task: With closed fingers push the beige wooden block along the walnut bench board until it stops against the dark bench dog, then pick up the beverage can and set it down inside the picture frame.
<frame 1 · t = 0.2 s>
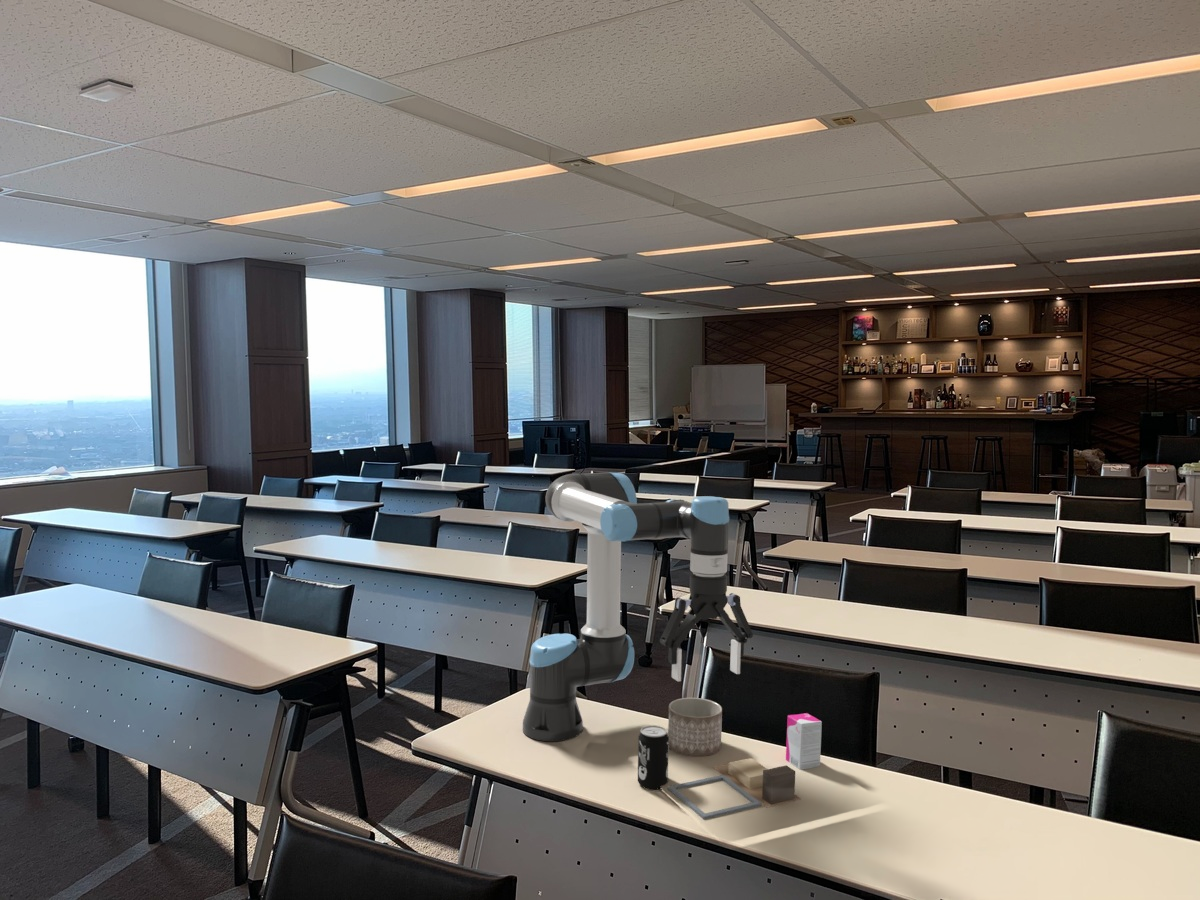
hand: (706, 675, 171), 28 cm above the table, fingers open, 13 cm apart
beige wooden block: (750, 778, 184), point 1 cm above the table, touching bench
picture frame: (713, 801, 175), on the table
beverage can: (652, 785, 183), on the table
planter: (694, 750, 201), on the table
bench: (755, 786, 182), on the table
supplement box: (802, 767, 193), on the table
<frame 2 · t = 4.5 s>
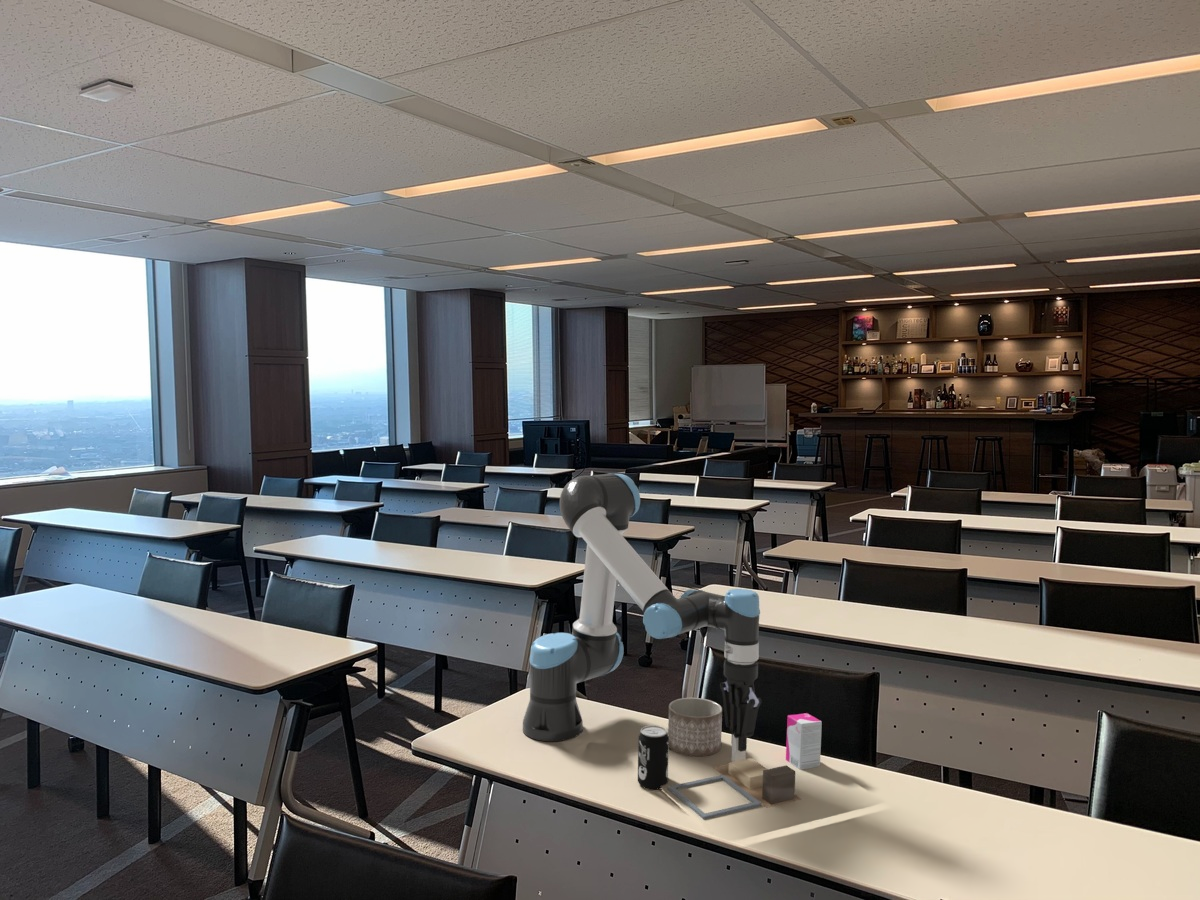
hand: (738, 762, 188), 3 cm above the table, fingers closed
beige wooden block: (750, 778, 184), point 1 cm above the table, touching bench, gripper
everything else where it was.
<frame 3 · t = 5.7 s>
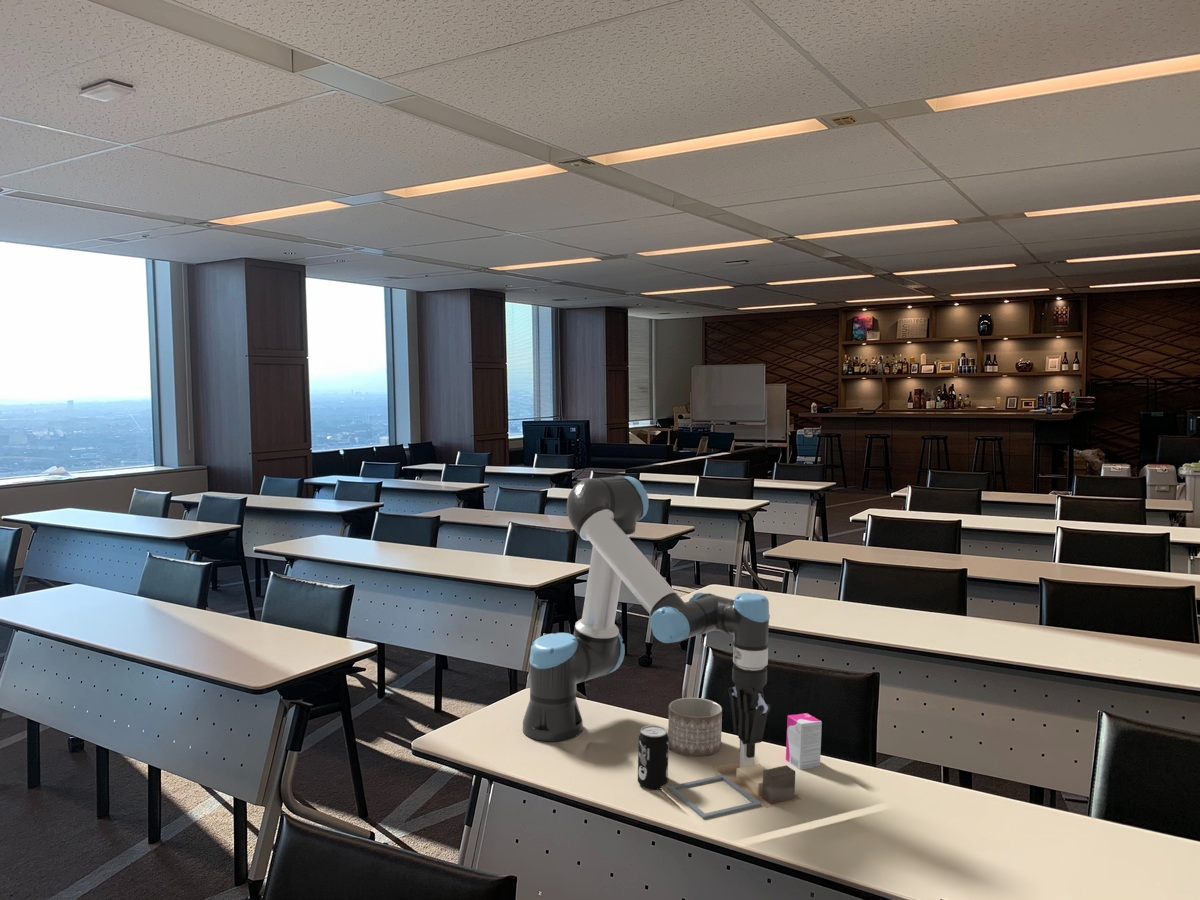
hand: (746, 769, 185), 2 cm above the table, fingers closed
beige wooden block: (758, 784, 181), point 1 cm above the table, touching bench, gripper
everything else where it was.
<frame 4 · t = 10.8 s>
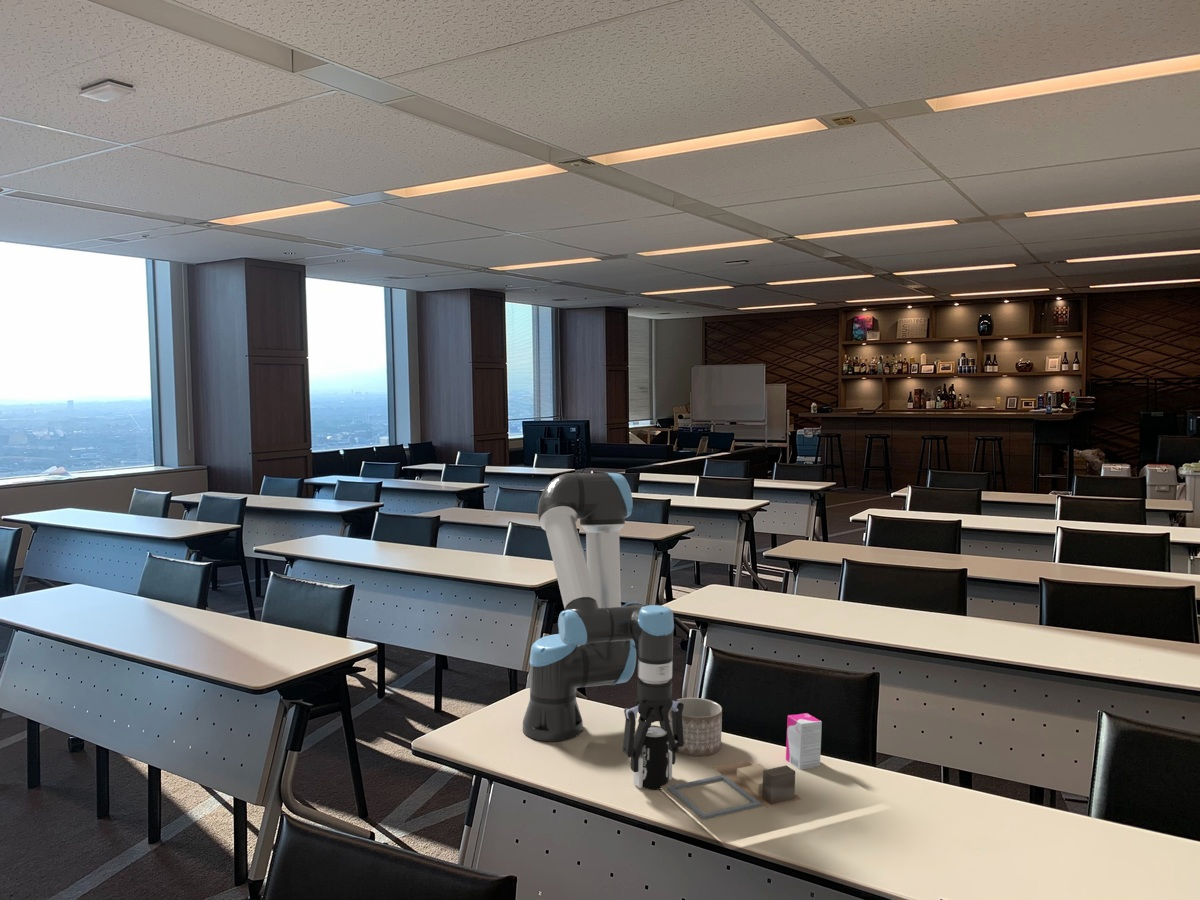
hand: (652, 781, 183), 0 cm above the table, fingers closed on beverage can, 7 cm apart
beige wooden block: (758, 784, 181), point 1 cm above the table, touching bench
beverage can: (652, 785, 183), on the table, touching gripper
everything else where it was.
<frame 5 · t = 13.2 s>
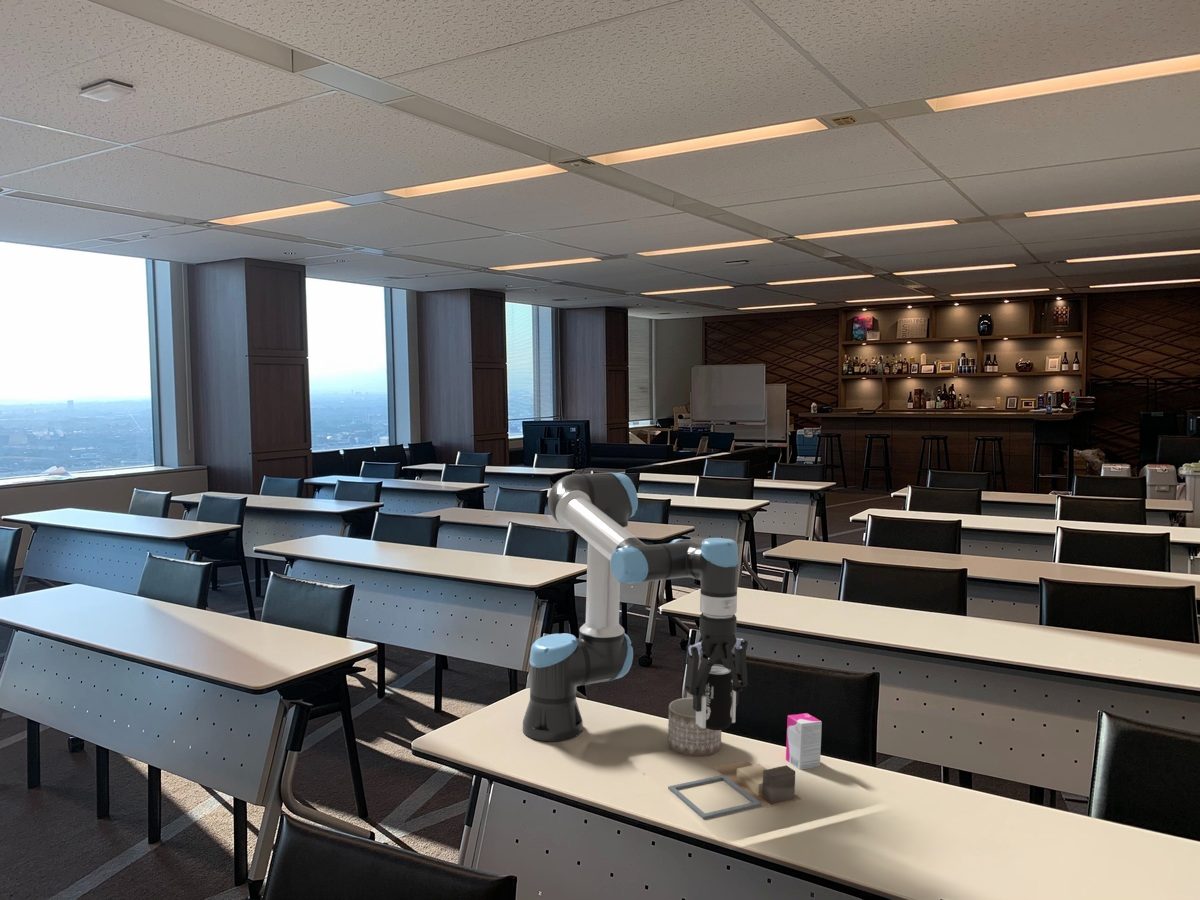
hand: (715, 722, 174), 17 cm above the table, fingers closed on beverage can, 7 cm apart
beverage can: (715, 726, 174), point 16 cm above the table, touching gripper
everything else where it was.
when the fingers open (3 cm above the table, at t = 16.0 s): beverage can drops 2 cm, resting on picture frame.
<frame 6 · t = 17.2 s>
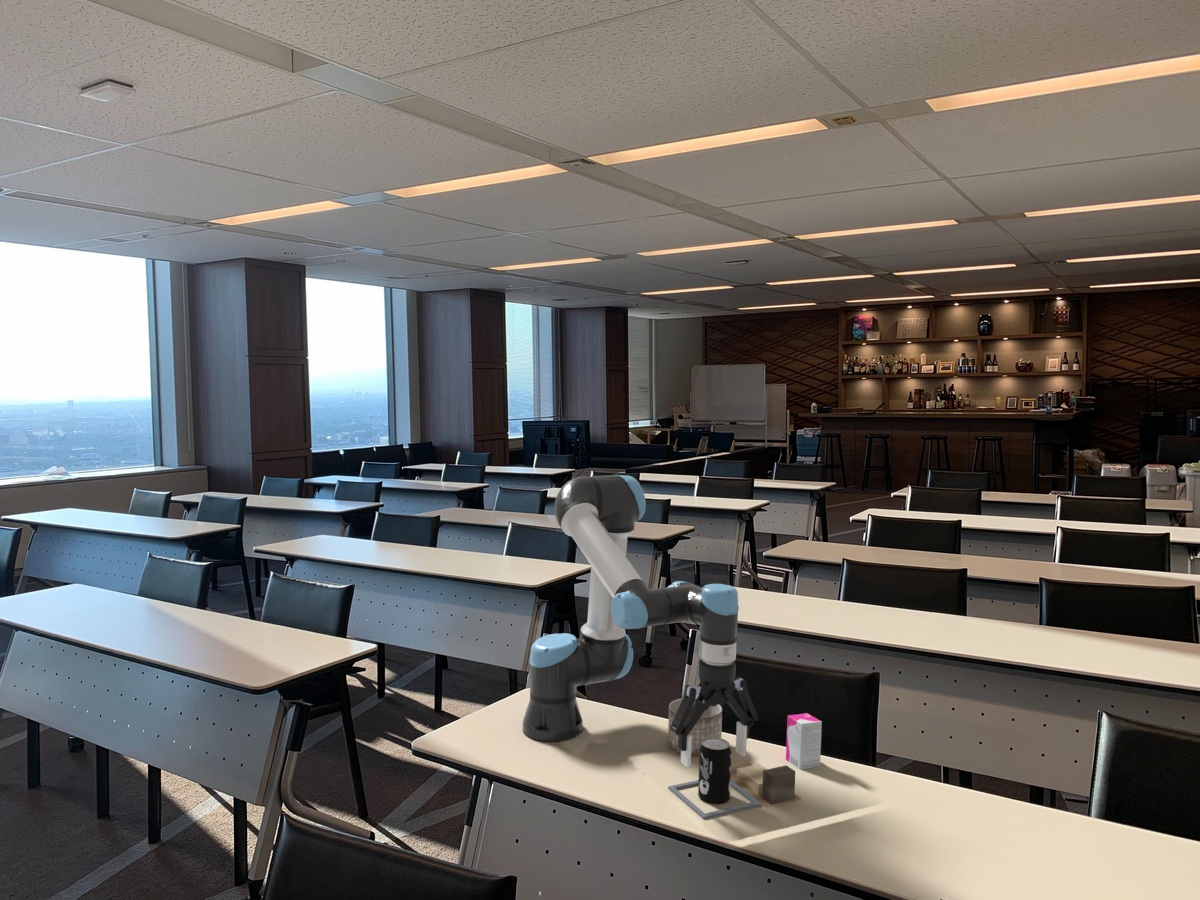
hand: (713, 759, 175), 9 cm above the table, fingers open, 13 cm apart
beverage can: (713, 799, 175), resting on picture frame
everything else where it was.
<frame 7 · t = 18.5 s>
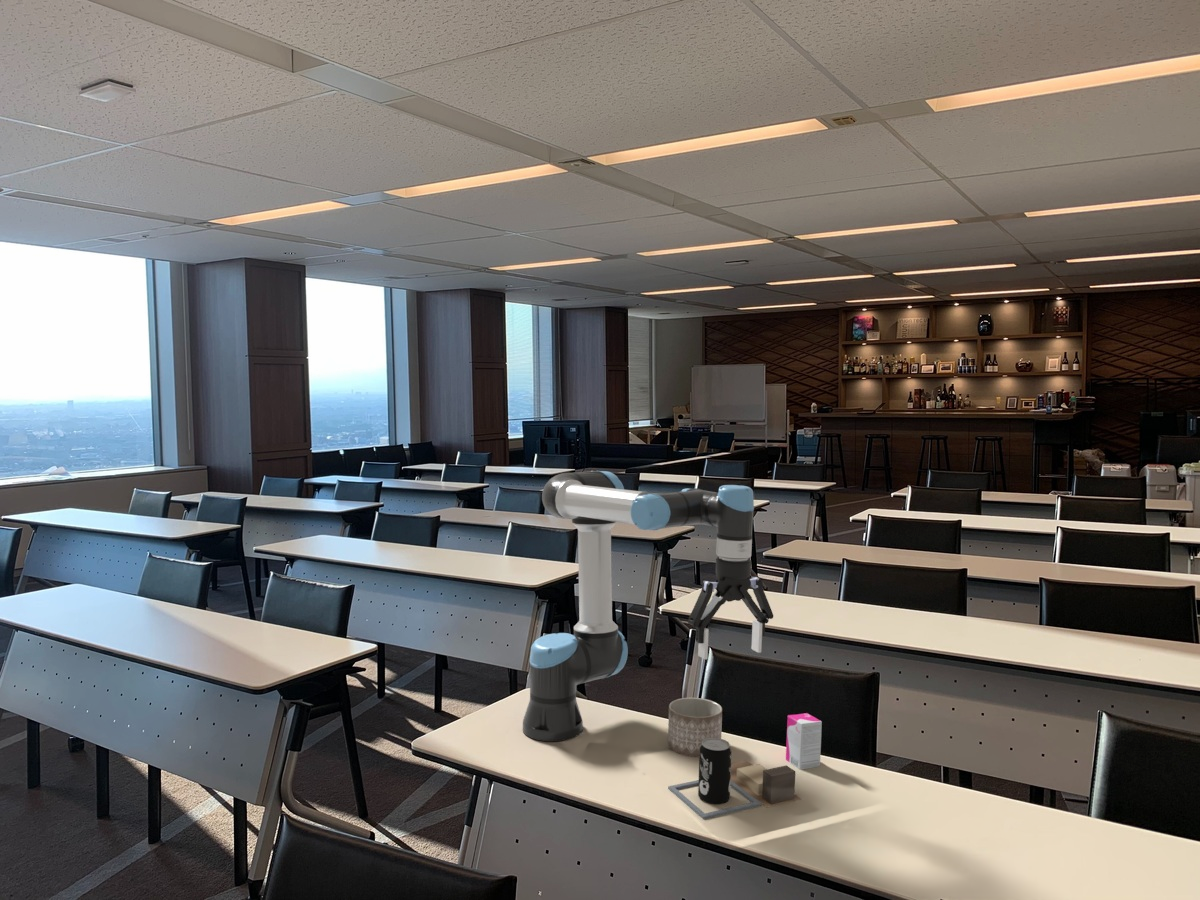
hand: (729, 654, 182), 29 cm above the table, fingers open, 13 cm apart
nothing on the table moved.
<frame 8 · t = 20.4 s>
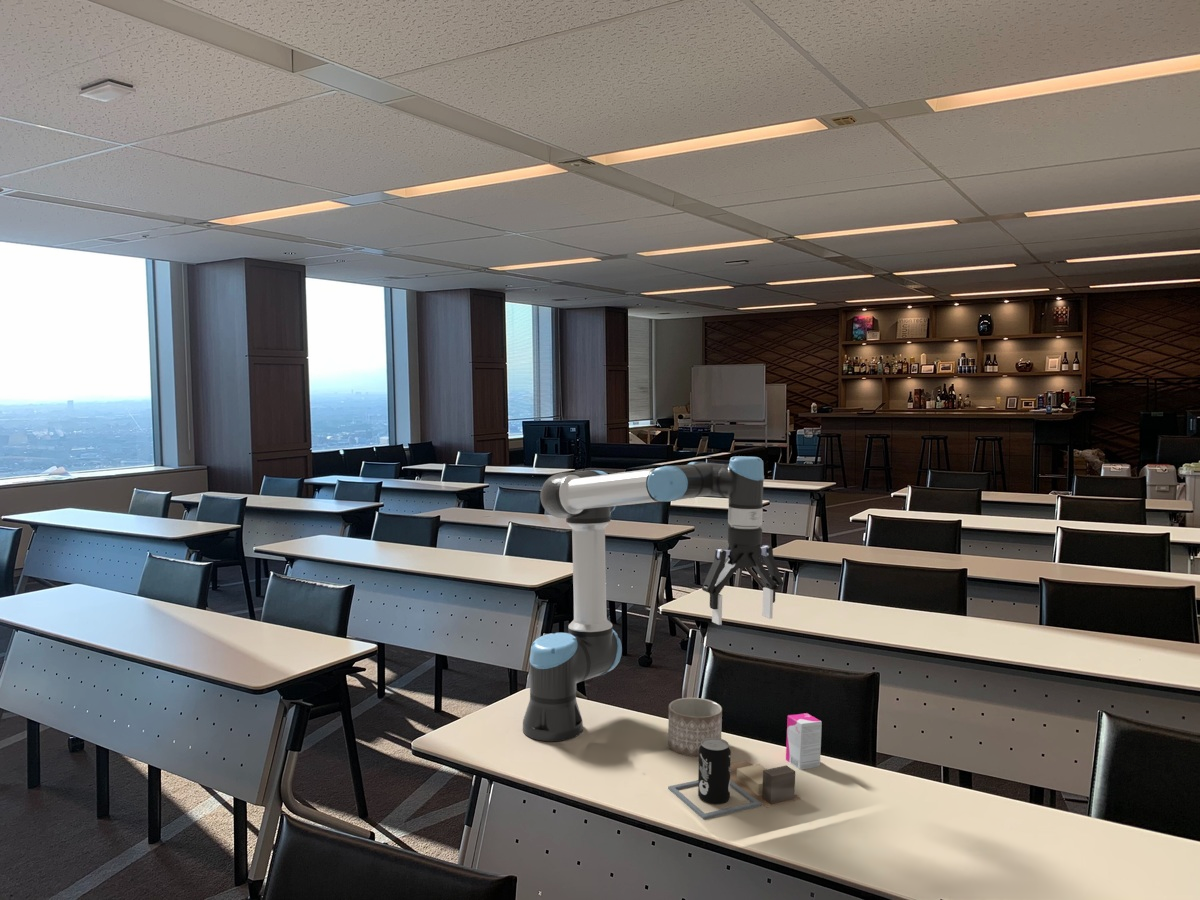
hand: (742, 620, 187), 35 cm above the table, fingers open, 13 cm apart
nothing on the table moved.
at the end: beige wooden block 0.8 cm from the target spot on the bench, point 1.0 cm above the bench's base; beverage can inside the target area on the picture frame (0.0 cm from its centre), point 0.3 cm above the picture frame's base; beverage can tilted 0° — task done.
